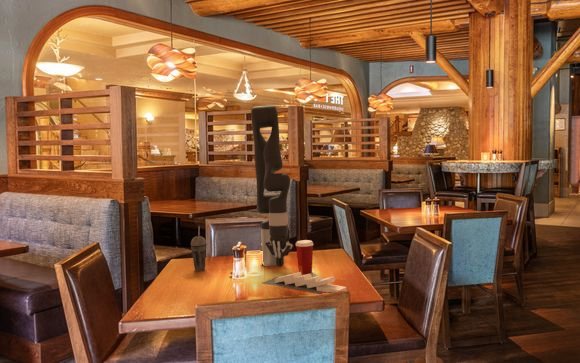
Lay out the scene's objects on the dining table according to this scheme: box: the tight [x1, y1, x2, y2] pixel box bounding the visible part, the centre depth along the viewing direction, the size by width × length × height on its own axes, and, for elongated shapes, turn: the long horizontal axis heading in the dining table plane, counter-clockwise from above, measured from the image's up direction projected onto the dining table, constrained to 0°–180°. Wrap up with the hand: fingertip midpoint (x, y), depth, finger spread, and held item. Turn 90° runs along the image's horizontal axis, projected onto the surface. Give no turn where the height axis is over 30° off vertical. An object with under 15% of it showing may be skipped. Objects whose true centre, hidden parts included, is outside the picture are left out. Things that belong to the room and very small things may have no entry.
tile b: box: [284, 273, 313, 285], centre depth 200 cm, size 2×5×10 cm
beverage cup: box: [190, 225, 208, 272], centre depth 231 cm, size 7×7×20 cm
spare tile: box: [295, 274, 324, 287], centre depth 197 cm, size 2×5×10 cm
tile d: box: [306, 276, 336, 288], centre depth 193 cm, size 2×5×10 cm
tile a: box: [274, 271, 303, 283], centre depth 203 cm, size 2×5×10 cm
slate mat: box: [261, 276, 323, 294], centre depth 200 cm, size 28×10×1 cm, turn 53°
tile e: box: [317, 283, 348, 294], centre depth 190 cm, size 2×5×10 cm
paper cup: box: [295, 239, 314, 275], centre depth 218 cm, size 8×8×14 cm
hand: (280, 266), depth 205 cm, fingers closed
